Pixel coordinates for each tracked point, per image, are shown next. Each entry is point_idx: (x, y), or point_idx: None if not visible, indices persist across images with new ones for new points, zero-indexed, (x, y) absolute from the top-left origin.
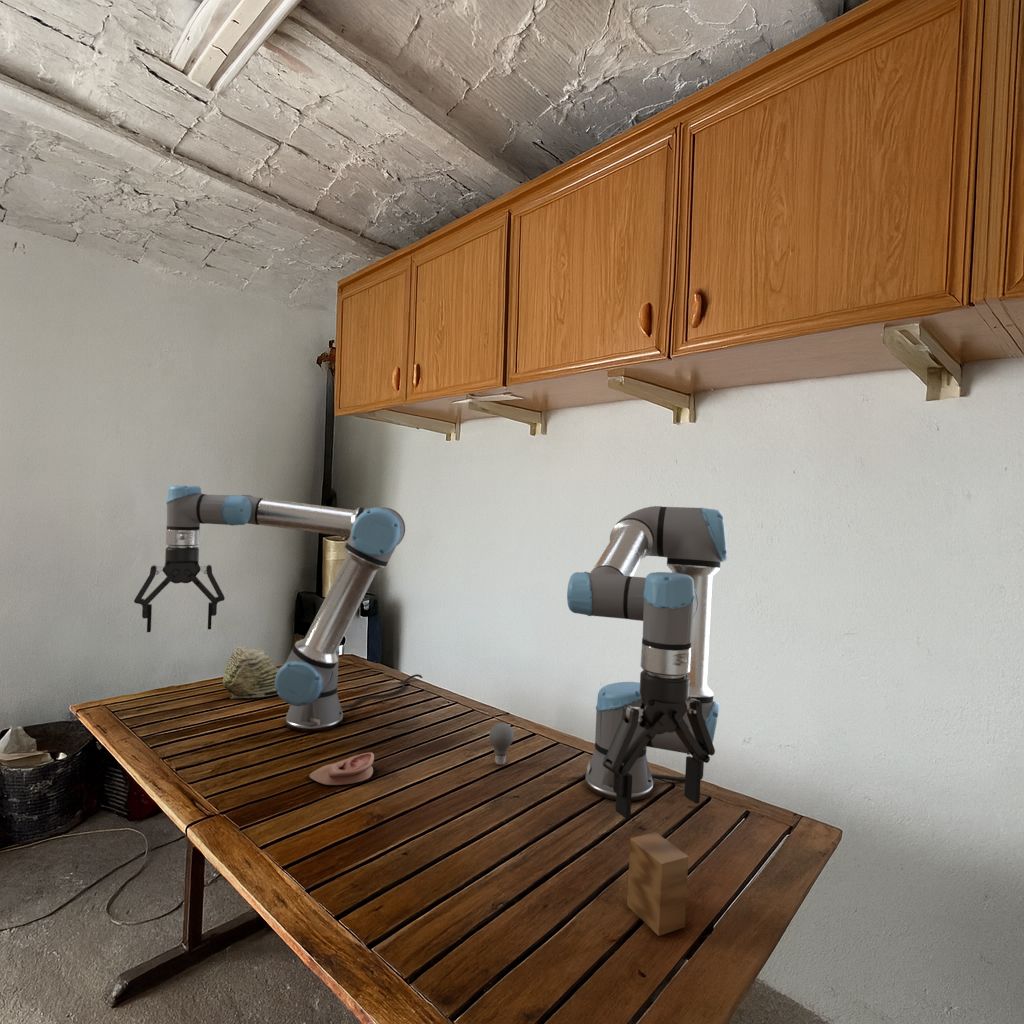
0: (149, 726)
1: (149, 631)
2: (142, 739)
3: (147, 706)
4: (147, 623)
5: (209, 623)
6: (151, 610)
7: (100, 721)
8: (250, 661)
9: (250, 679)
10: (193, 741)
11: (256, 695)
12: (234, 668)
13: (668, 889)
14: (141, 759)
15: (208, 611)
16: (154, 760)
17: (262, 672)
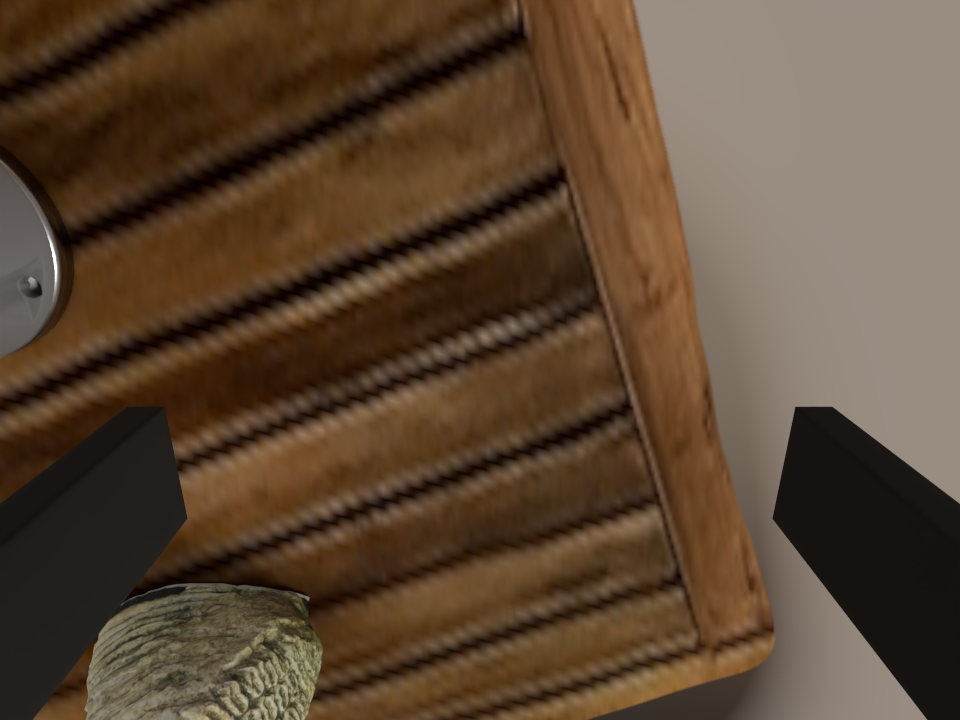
0: (570, 405)
1: (809, 410)
2: (593, 278)
3: (576, 600)
4: (899, 464)
5: (104, 442)
6: (953, 698)
7: (719, 503)
8: (169, 696)
9: (207, 632)
10: (417, 190)
11: (213, 588)
12: (252, 675)
13: None
14: (597, 54)
15: (1, 580)
16: (552, 22)
17: (147, 656)
